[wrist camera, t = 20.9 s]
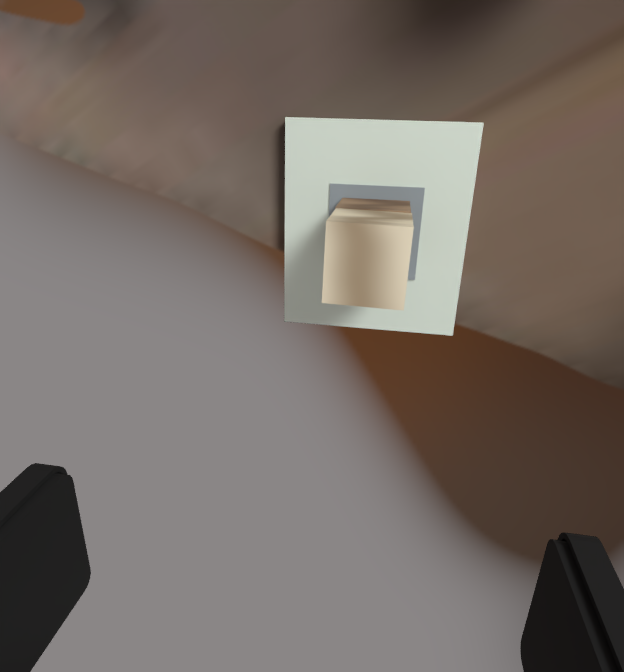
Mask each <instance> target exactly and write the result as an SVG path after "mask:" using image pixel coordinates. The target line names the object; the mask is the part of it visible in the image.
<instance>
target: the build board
mask: <svg viewBox="0 0 624 672" xmlns="http://www.w3.org/2000/svg"><path fill="white" fill-rule="evenodd" d="M483 124H484V123H476V122H440V121H404V120H368V119H332V118H296V117H285V271H284V272H285V273H284V277H285V278H284V281H285V282H284V322H296V323H307V324H319V325H332V326H344V327H355V328H367V329H380V330H391V331H404V332H415V333H427V334H439V335H451V336H452V335H453V329H454V323H455V316H456V309H457V302H458V295H459V288H460V281H461V275H462V268H463V261H464V254H465V247H466V240H467V233H468V227H469V220H470V213H471V206H472V199H473V192H474V186H475V179H476V172H477V165H478V158H479V151H480V144H481V138H482V131H483ZM342 198H360V199H380V200H401V201H410V207H411V213H412V217H413V225H414V230H413V238H412V247H411V255H410V263H409V271H408V280H407V288H406V296H405V304H404V311H403V310H392V309H381V308H370V307H360V306H349V305H338V304H328V303H322V289H323V270H324V251H325V232H326V221H327V219H328V218H329V217H330V215H331V214H332V213H333V211H334V210H335V207H336V206H337V204H338V203H339V202H340V201H341V199H342Z"/></svg>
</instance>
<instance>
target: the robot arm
mask: <svg viewBox="0 0 624 672" xmlns="http://www.w3.org/2000/svg"><path fill="white" fill-rule="evenodd" d="M90 574H91V572H90V565H89V560H88V555H87V549H86V544H85V539H84V534H83V529H82V524H81V519H80V513H79V509H78V503H77V498H76V493H75V488H74V483H73V479H72V477H71V476H70V475H67V472H66V470H65V469H64V468H63V467H60V466H53V465H45V464H37V463H35V464H32V465H30V466H29V467H27V468H26V469H25V470H24V471H23V472H22V473H21V474H20V475H19V476H18V477H16V478H15V479H14V480H13V481H12V482H11V483H10V484H9V485H8V486H7V487H6V488H5V489H4V490H2V491H1V492H0V672H30V671H31V670H32V668H33V667H34V665H35V664H36V662H37V661H38V659H39V657H40V656H41V655H42V653H43V652H44V650H45V649H46V647H47V646H48V644H49V643H50V642H51V640H52V638H53V637H54V635H55V634H56V633H57V631H58V629H59V628H60V627H61V625H62V624H63V622H64V621H65V619H66V618H67V616H68V615H69V613H70V612H71V610H72V609H73V607H74V606H75V604H76V603H77V601H78V600H79V599H80V597H81V596H82V594H83V592H84V591H85V589H86V588H87V585H88V583H89V579H90ZM521 660H522V665H523V670H524V672H624V589H623V587H622V585H621V582H620V580H619V578H618V577H617V574H616V572H615V570H614V568H613V566H612V564H611V562H610V559H609V557H608V555H607V553H606V551H605V549H604V547H603V545H602V543H601V541H600V540H599V539H598V538H597V537H594V536H587V535H579V534H571V533H561V534H560V535H559V538H558V540H553V539H550V540H549V542H548V544H547V547H546V551H545V555H544V558H543V562H542V565H541V569H540V573H539V576H538V580H537V584H536V588H535V591H534V595H533V598H532V602H531V606H530V609H529V613H528V617H527V620H526V624H525V628H524V631H523V635H522V639H521Z"/></svg>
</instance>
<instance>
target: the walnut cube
mask: <svg viewBox="0 0 624 672" xmlns="http://www.w3.org/2000/svg"><path fill="white" fill-rule="evenodd" d="M336 208H344V209H359V210H373V211H388V212H403V213H411V207H410V201H401V200H380V199H360V198H342V199H341V201H340V202H339V203H338V204H337V206H336V207H335V209H336Z"/></svg>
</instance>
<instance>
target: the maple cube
mask: <svg viewBox="0 0 624 672" xmlns="http://www.w3.org/2000/svg"><path fill="white" fill-rule="evenodd" d="M413 230H414V225H413V217H412V213H403V212H388V211H373V210H359V209H344V208H336V209H335V210H334V211H333V213H332V214H331V215H330V217H329V218H328V219H327V221H326V232H325V251H324V270H323V289H322V303H328V304H338V305H349V306H360V307H370V308H381V309H392V310H403V311H404V304H405V296H406V288H407V280H408V271H409V263H410V255H411V247H412V238H413Z"/></svg>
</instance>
